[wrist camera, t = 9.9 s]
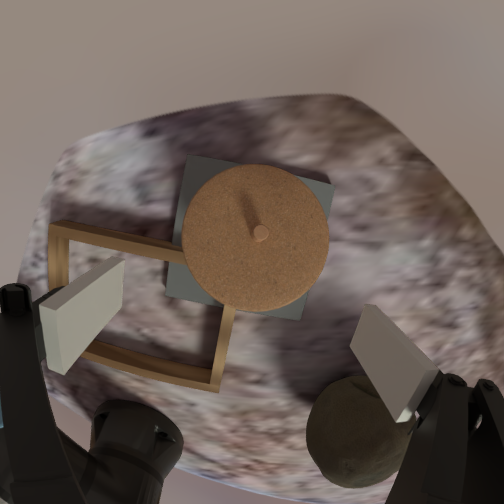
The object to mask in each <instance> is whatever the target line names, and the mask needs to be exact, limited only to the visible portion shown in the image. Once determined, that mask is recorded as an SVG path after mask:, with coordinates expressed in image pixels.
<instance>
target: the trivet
mask: <svg viewBox="0 0 504 504" xmlns="http://www.w3.org/2000/svg"><path fill="white" fill-rule="evenodd" d="M239 165H245V164H240V163H235V162H230V161H225V160H219V159H214V158H208V157H202V156H196V155H190V154H187V159H186V164H185V169H184V174H183V179H182V185H181V190H180V196H179V201H178V207H177V213H176V219H175V225H174V232H173V239H172V245H174V246H179V247H182V239H181V231H182V224H183V219H184V216H185V213H186V209H187V207H188V205H189V203H190V201H191V199H192V198H193V196H194V195H195V194H196V192H197V191H198V190H199V188H200V187H201V186H202V185H203V184H204V183H205V182H206V181H208V180H209V179H211V178H212V177H213V176H215V175H216V174H218V173H220V172H222V171H224V170H226V169H229V168H232V167H235V166H239ZM294 176H295V175H294ZM295 177H297V178H298V179H300V180H301V181H302V182H303V183H304V184H306V185H307V186H308V187H309V188H310V190H311V191H312V192H313V193H314V195H315V196H316V197H317V199H318V201H319V202H320V204H321V206H322V208H323V211H324V213H325V216H326V219H327V220H328V216H329V212H330V207H331V203H332V199H333V194H334V190H335V185H331V184H327V183H323V182H319V181H316V180H312V179H308V178H304V177H300V176H295ZM308 292H309V290H308V291H307V292H306V293H304V294H303V295H302V296H301V297H300V298H298V299H297V300H295V301H293V302H292V303H290V304H288V305H286V306H283V307H281V308H278V309H274V310H269V311H260V312H252V311H244V312H250V313H255V314H261V315H267V316H273V317H279V318H285V319H291V320H298V321H300V319H301V316H302V312H303V309H304V306H305V302H306V299H307V295H308ZM165 296H170V297H174V298H179V299H183V300H188V301H193V302H198V303H202V304H207V305H212V306H217V307H223V308H224V304H222V303H220V302H219V301H217V300H216V299H214V298H213V297H211V296H210V295H209V294H208V293H206V292H205V291H204V290H203V289H202V288H201V287H200V285H199V284H198V283H197V282H196V280H195V279H194V278H193V276H192V274H191V272H190V270H189V269H188V266H187V265H183V264H178V263H174V262H169V268H168V276H167V284H166V293H165ZM236 310H239V309H236ZM239 311H243V310H239Z"/></svg>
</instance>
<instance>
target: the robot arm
mask: <svg viewBox="0 0 504 504" xmlns="http://www.w3.org/2000/svg"><path fill="white" fill-rule="evenodd" d="M124 263H125V259H122V258H117V257H113V256H112V257H110V258H108V259H107V260H105V261H104V262H102V263H101V264H99V265H97V266H96V267H94V268H93V269H91V270H90V271H88V272H86V273H85V274H83V275H82V276H80V277H79V278H77V279H76V280H74V281H73V282H71V283H70V284H68V285H67V286H61V287H57V288H54V289H52V290H51V291H49V292H48V293H47V294H45V295H43V296H42V297H40V298H39V299H37V300H36V301H34V302H33V303H32V300H31V290H30V288H29V287H28V286H27V285H24V284H19V283H12V284H7V285H4V286H3V287H1V288H0V307H1V313H0V504H159V501H160V496H161V492H162V487H163V482H164V479H165V478H166V476H167V475H168V474H169V472H170V471H171V470H172V468H173V467H174V466H175V464H176V463H177V461H178V460H179V459H180V457H181V454H182V449H183V444H184V441H183V437H182V434H181V432H180V431H179V429H178V428H177V427H176V426H175V424H173V423H172V422H171V421H170V420H169V419H168V418H166V417H165V416H164V415H162V414H161V413H159V412H157V411H155V410H153V409H151V408H149V407H147V406H144V405H142V404H139V403H135V402H131V401H125V400H111V401H107V402H105V403H103V404H101V405H100V406H99V407H98V409H97V411H96V413H95V414H94V416H93V419H92V426H91V440H90V450H89V452H87V451H86V450H85V449H83V448H82V447H81V446H80V445H78V444H77V443H76V442H75V441H73V440H72V439H71V438H70V437H69V436H67V435H66V434H65V433H64V432H63V431H61V430H60V429H59V428H58V427H57V426H56V422H55V419H54V416H53V412H52V409H51V406H50V401H49V398H48V393H47V389H46V385H45V381H44V376H43V371H42V366H41V361H42V360H43V359H44V358H45V357H46V360H47V365H48V369H50V370H52V371H55V372H57V373H60V374H62V375H65V373H66V372H67V371H68V370H69V368H70V367H71V366H72V365H73V364H74V362H75V361H76V360H77V359H78V357H79V356H80V355H81V354H82V353H83V351H84V350H85V349H86V348H87V347H88V345H89V344H90V343H91V342H92V341H93V339H94V338H95V337H96V336H97V335H98V334H99V332H100V331H101V330H102V329H103V328H104V327H105V325H106V324H107V323H108V322H109V321H110V320H111V318H112V317H113V316H114V315H115V314H116V313H117V312H118V311H119V309H120V308H121V307H122V293H123V276H124ZM350 348H351V349H352V351H353V353H354V354H355V356H356V358H357V359H358V361H359V362H360V364H361V366H362V367H363V369H364V370H365V372H366V374H367V375H368V377H369V379H370V380H371V382H372V384H373V385H374V387H375V388H376V390H377V392H378V393H379V395H380V397H381V398H382V400H383V402H384V403H385V405H386V407H387V408H388V410H389V412H390V413H391V415H392V417H393V419H394V420H395V422H405V421H410V419H411V418H412V416H413V415H414V413H415V411H416V410H417V412H418V413H419V415H420V416H419V418H418V419H417V421H416V422H415V424H414V425H413V427H412V428H411V430H410V431H409V432H408V434H407V435H410V434H411V433H412V435H411V438H410V442H409V445H408V447H407V450H406V453H405V456H404V459H403V461H402V464H401V467H400V469H399V472H398V474H397V477H396V479H395V482H394V484H393V486H392V489H391V491H390V493H389V496H388V498H387V500H386V502H385V504H504V398H503V396H502V394H501V392H500V390H499V388H498V387H497V386H496V385H495V384H494V382H492V381H491V380H486V379H479V380H478V382H477V384H476V386H475V387H474V388H471V387H467V383H466V382H465V381H464V380H463V379H462V378H461V377H459V376H458V375H455V374H451V373H447V374H443V373H442V372H441V371H440V370H439V368H438V367H437V366H436V365H435V364H434V363H433V362H432V361H431V360H430V359H429V358H428V357H427V356H426V355H425V354H424V353H423V352H422V351H421V350H420V349H419V348H418V347H417V346H416V345H415V344H414V343H413V342H412V341H411V340H410V339H409V338H408V337H407V336H406V335H405V334H404V333H403V332H402V331H401V330H400V329H399V328H398V327H397V326H396V325H395V324H394V323H393V322H392V321H391V320H390V319H389V318H388V317H387V316H386V315H385V314H384V313H383V312H382V311H381V310H380V309H379V308H378V307H377V306H376V305H369V304H365V305H364V308H363V311H362V314H361V317H360V319H359V322H358V325H357V328H356V330H355V333H354V336H353V338H352V341H351V344H350ZM481 419H482V421H481ZM480 421H481V424H480V426H479V427H478V429H477V428H476V426H477V425H478V423H479V422H480Z"/></svg>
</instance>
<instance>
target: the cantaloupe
mask: <svg viewBox="0 0 504 504" xmlns="http://www.w3.org/2000/svg"><path fill="white" fill-rule="evenodd" d="M415 422H416V416H415V413H414V415H413V416H412V418H411V419H410V421H405V422H395V420H394V419H393V417H392V415H391V413H390V412H389V410H388V408H387V407H386V405H385V403H384V402H383V400H382V398H381V397H380V395H379V393H378V392H377V390H376V388H375V387H374V385H373V384H372V382H371V380H370V379H369V377H368V376H350V377H346V378H343V379H341V380H338V381H336V382H333V383H331V384H330V385H329V386H327V387H326V388H325V389H324V390H323V391H322V392H321V394H320V395H319V396H318V398H317V399H316V401H315V403H314V405H313V407H312V409H311V412H310V415H309V418H308V422H307V427H306V443H307V448H308V451H309V453H310V455H311V457H312V459H313V460H314V462H315V463H316V464H317V466H318V467H319V469H320V471H321V473H322V474H323V476H324V477H325V478H326V479H328V480H329V481H330V482H332V483H334V484H336V485H338V486H341V487H344V488H363V487H368V486H372V485H374V484H377V483H380V482H382V481H384V480H386V479H387V478H389V477H390V476H391V475H393V474H394V473H395V472H397V471H398V470H399V469H400V467H401V464H402V461H403V459H404V456H405V453H406V450H407V447H408V445H409V442H410V438H411V435H412V433H411V434H410V435H407V434H408V432H409V431H410V430H411V428H412V427H413V425H414V424H415Z"/></svg>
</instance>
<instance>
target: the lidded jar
mask: <svg viewBox="0 0 504 504" xmlns="http://www.w3.org/2000/svg"><path fill="white" fill-rule="evenodd" d="M181 239H182V249H183V255H184V258H185V261H186V264H187V266H188V269H189V270H190V272H191V274H192V276H193V278H194V279H195V280H196V282H197V283H198V284H199V285H200V287H201V288H202V289H203V290H204V291H205V292H206V293H208V294H209V295H210V296H211V297H213V298H214V299H216V300H217V301H219V302H220V303H222V304H225V305H227V306H229V307H231V308H235V309H239V310H243V311H252V312H260V311H269V310H274V309H278V308H281V307H283V306H286V305H288V304H290V303H292V302H293V301H295V300H297V299H298V298H300V297H301V296H302V295H303V294H304V293H306V292H307V291H308V290H309V289H310V287H311V286H312V285H313V284H314V283H315V282H316V280H317V278H318V277H319V275H320V273H321V272H322V269H323V267H324V264H325V262H326V258H327V254H328V248H329V229H328V224H327V219H326V216H325V213H324V211H323V208H322V206H321V204H320V202H319V201H318V199H317V197H316V196H315V195H314V193H313V192H312V191H311V190H310V188H309V187H308V186H307V185H306V184H304V183H303V182H302V181H301V180H300V179H298V178H297V177H295V176H294V175H293V174H291V173H289V172H287V171H285V170H283V169H280V168H277V167H273V166H270V165H263V164H245V165H239V166H235V167H232V168H229V169H226V170H224V171H222V172H220V173H218V174H216V175H215V176H213V177H212V178H211V179H209V180H208V181H206V182H205V183H204V184H203V185H202V186H201V187H200V188H199V190H198V191H197V192H196V194H195V195H194V196H193V198H192V199H191V201H190V203H189V205H188V207H187V209H186V213H185V216H184V219H183V224H182V231H181Z"/></svg>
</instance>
